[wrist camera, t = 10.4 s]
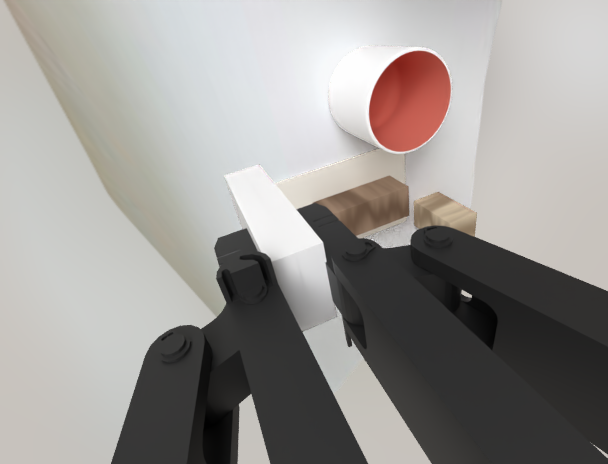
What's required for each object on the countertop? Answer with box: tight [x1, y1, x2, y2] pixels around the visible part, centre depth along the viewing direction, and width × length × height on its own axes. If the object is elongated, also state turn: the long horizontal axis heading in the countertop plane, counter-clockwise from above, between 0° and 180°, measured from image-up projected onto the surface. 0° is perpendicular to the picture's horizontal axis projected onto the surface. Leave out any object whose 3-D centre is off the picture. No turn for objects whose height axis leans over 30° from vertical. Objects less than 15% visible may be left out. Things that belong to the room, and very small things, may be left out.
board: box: [275, 148, 406, 238], centre depth 49 cm, size 13×20×1 cm, turn 101°
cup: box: [328, 45, 452, 154], centre depth 38 cm, size 10×10×10 cm
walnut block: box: [312, 175, 409, 236], centre depth 47 cm, size 4×4×12 cm
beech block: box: [414, 192, 477, 237], centre depth 52 cm, size 4×4×8 cm
